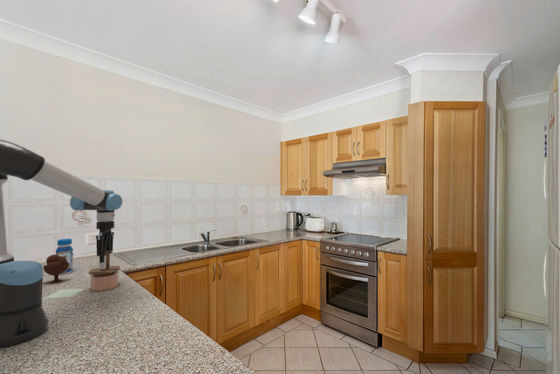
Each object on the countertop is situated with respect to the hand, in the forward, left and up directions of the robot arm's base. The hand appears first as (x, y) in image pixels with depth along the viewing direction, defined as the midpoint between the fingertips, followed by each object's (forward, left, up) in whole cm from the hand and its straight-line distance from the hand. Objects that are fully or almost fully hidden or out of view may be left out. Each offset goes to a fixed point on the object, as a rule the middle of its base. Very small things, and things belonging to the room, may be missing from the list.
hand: (104, 267), depth 131 cm
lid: (0, 0, -2) cm, 2 cm away
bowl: (0, 0, -10) cm, 10 cm away
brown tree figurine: (+14, +30, -10) cm, 35 cm away
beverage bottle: (+34, +38, -10) cm, 52 cm away
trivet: (-6, +14, -10) cm, 18 cm away
